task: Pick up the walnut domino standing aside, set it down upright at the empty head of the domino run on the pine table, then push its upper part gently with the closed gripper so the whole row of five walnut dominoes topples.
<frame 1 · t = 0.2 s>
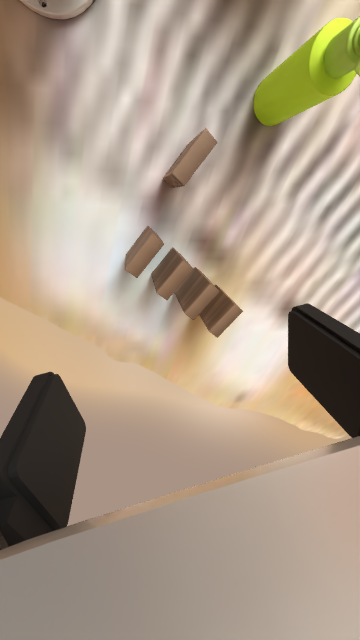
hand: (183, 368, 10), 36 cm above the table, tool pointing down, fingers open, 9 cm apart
domino 4: (188, 282, 47), on the table
domino 3: (166, 264, 45), on the table
domino 5: (208, 299, 49), on the table
domino 2: (141, 244, 43), on the table
domino 1: (180, 166, 39), on the table
soap dispenser: (269, 105, 38), on the table
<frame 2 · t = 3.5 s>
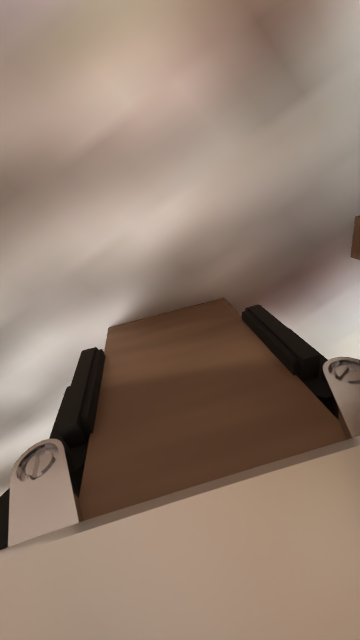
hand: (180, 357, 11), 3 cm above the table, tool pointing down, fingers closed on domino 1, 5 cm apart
domino 1: (171, 329, 13), on the table, touching gripper
when the fingers open (3 cm above the table, at t = 9.4 s): domino 1 stays where it is, on the table.
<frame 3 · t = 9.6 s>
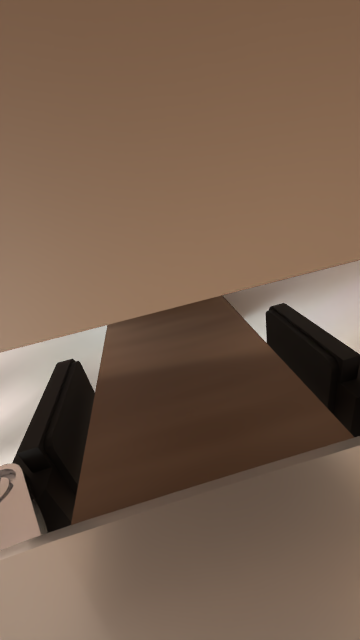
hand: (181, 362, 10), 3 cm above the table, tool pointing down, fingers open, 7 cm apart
domino 2: (137, 192, 10), on the table
domino 1: (169, 325, 13), on the table
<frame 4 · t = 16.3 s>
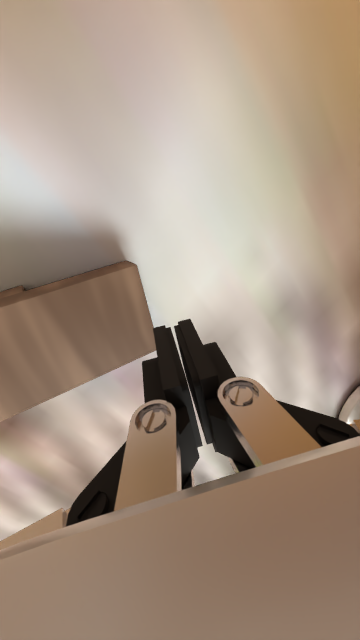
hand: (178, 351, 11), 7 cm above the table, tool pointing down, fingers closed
domino 1: (143, 306, 17), point 1 cm above the table, tilted 71°, touching domino 2
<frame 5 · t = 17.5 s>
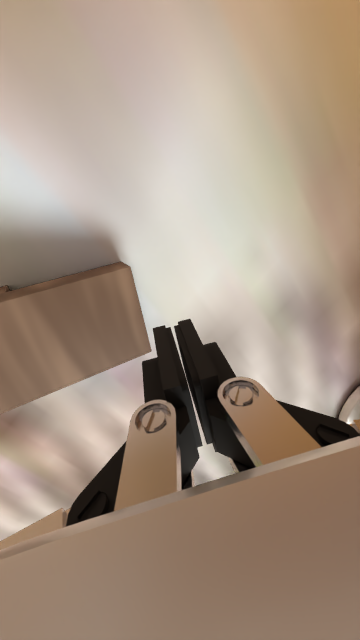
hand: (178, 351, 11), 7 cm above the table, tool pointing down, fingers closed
domino 1: (136, 307, 17), point 1 cm above the table, tilted 72°, touching domino 2
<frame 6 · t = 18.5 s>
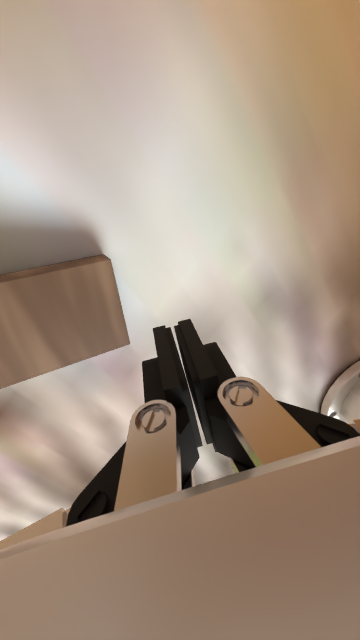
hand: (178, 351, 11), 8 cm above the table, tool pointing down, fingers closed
domino 1: (117, 300, 17), point 1 cm above the table, tilted 74°, touching domino 2
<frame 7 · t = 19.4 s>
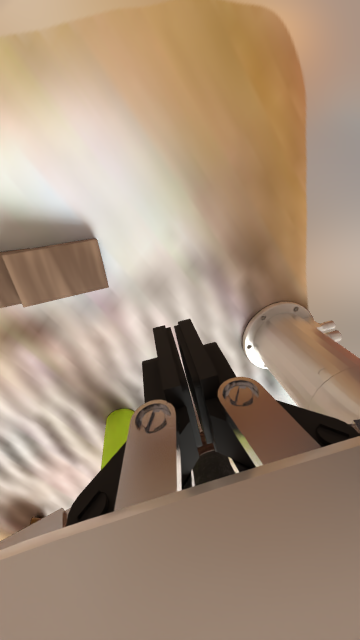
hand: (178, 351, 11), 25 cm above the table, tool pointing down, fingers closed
black ball on stand: (207, 448, 53), on the table
domino 2: (37, 273, 31), point 1 cm above the table, tilted 71°, touching domino 1, domino 3
domino 1: (101, 263, 32), point 1 cm above the table, tilted 75°, touching domino 2
soap dispenser: (121, 418, 46), on the table
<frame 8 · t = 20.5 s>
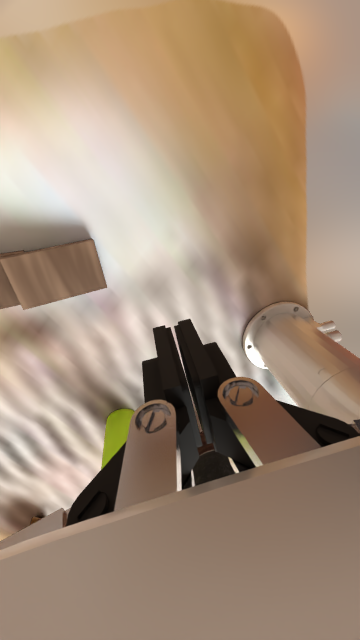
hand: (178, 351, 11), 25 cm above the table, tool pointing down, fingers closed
black ball on stand: (207, 448, 53), on the table
domino 2: (31, 275, 31), point 1 cm above the table, tilted 72°, touching domino 1, domino 3
domino 1: (99, 263, 32), point 1 cm above the table, tilted 76°, touching domino 2
soap dispenser: (121, 418, 46), on the table
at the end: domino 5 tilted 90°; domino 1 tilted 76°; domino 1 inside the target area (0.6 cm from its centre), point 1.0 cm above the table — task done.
